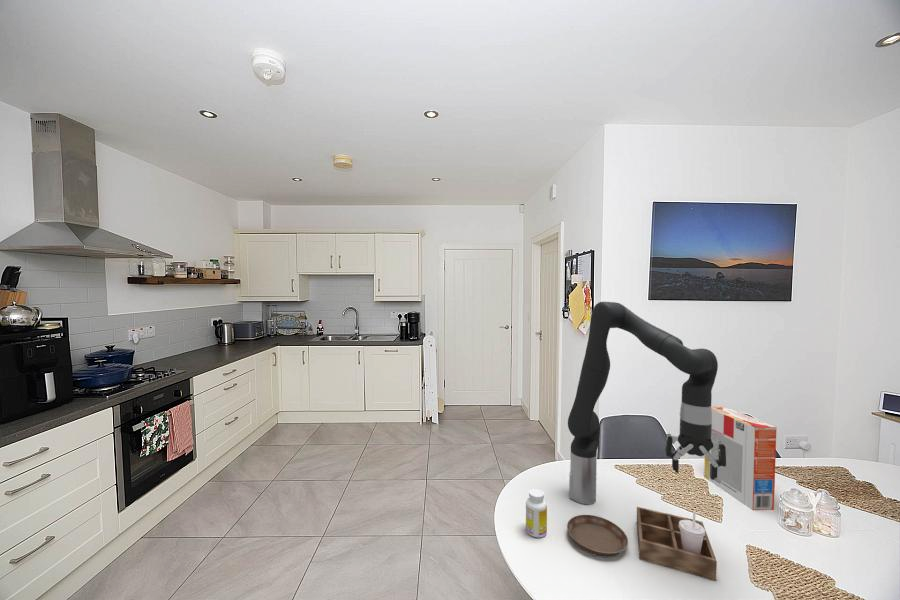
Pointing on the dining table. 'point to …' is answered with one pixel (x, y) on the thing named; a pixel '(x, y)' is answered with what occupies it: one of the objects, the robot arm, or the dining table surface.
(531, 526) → the supplement bottle
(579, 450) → the robot arm
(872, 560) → the dining table surface
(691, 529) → the smoothie
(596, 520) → the plant saucer
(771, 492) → the white and orange box
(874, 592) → the dining table surface
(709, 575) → the bottle caddy
